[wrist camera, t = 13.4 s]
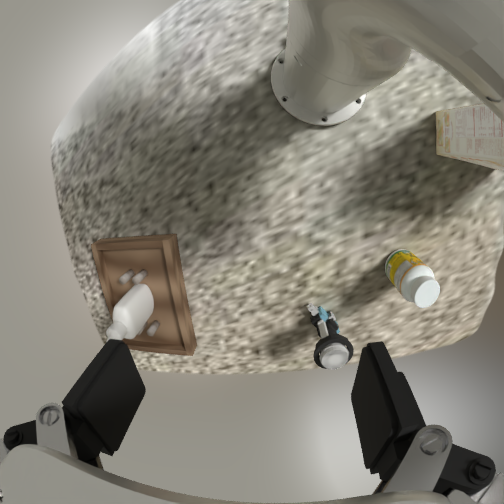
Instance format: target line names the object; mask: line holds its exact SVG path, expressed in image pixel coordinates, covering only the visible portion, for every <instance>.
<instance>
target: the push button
mask: <svg viewBox="0 0 504 504" xmlns="http://www.w3.org/2000/svg"><path fill="white" fill-rule="evenodd" d="M310 305H312V306H311V307H310ZM307 306H308V307H309V308H308V310H309V311H310V312H311V313H312V317H311V322H312V324H313V325H314V326H315V327H316V328H317V331H318V335H319V336H320V337H321V339H320V340H319V341H318V343H317V344H316V348H315V351H314V361H315V363H316V364H317V365H318V366H320V367H322V368H325V369H337V368H340V367H342V366H343V365H345V364H346V363H347V362H348V361H349V360H350V359H351V358H352V356H353V346H352V344H351V343H350V342H349V341H348V339H347V338H346V337H344V336H341V335H339V334H338V333H339V332H340V331H339V327H338V324H337V322H336V321H335V320H336V319H335V316H334V314H333V313H332V312H331V311H330V313H331V316H330V315H329V314H328V313H327V312H326V311H325V310H324V309H323V308H322V307H321V306H320V307H319V308H317V307H315V306H314V305H313V304H312V303H310V304H309V305H307ZM310 309H311V310H310ZM332 314H333V315H332ZM345 345H346V346H347V348H346V347H345ZM319 352H320V355H319Z"/></svg>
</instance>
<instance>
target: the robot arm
mask: <svg viewBox="0 0 504 504" xmlns="http://www.w3.org/2000/svg"><path fill="white" fill-rule="evenodd" d="M411 49H414V50H415V51H417V52H418V53H420V54H421V55H423V56H424V57H426V58H427V59H429V60H431V61H433V62H435V63H436V64H437V65H439V66H440V67H441V68H443V69H444V70H445V71H447V72H448V73H449V74H451V75H452V76H453V77H454V78H456V79H457V80H458V81H459V82H460V83H462V84H463V85H464V86H465V87H466V88H467V89H469V90H470V91H471V92H472V93H473V94H474V95H475V96H476V97H478V98H479V99H480V100H481V101H482V102H483V103H484V104H485V105H486V106H487V107H488V108H489V109H490V110H491V111H492V112H493V113H494V114H496V115H497V116H498V117H499V118H500V119H501V120H502V121H503V122H504V0H289V14H288V27H287V39H286V48H285V49H284V50H283V51H282V52H281V53H280V54H279V55H278V56H277V58H276V60H275V62H274V64H273V67H272V71H271V84H272V88H273V92H274V95H275V96H276V98H277V100H278V102H279V103H280V104H281V106H282V107H283V108H284V109H285V110H286V111H287V112H288V113H289V114H291V115H292V116H294V117H295V118H297V119H299V120H301V121H303V122H306V123H309V124H313V125H319V126H329V125H336V124H339V123H342V122H344V121H346V120H348V119H350V118H351V117H353V116H354V115H355V114H356V113H357V112H358V111H359V110H360V109H361V107H362V106H363V104H364V101H365V98H366V95H367V92H369V91H371V90H372V89H374V88H375V87H377V86H378V85H380V84H382V83H383V82H385V81H386V80H388V79H390V78H391V77H393V76H394V75H395V74H397V73H398V72H399V71H400V70H401V69H402V68H403V67H404V66H405V64H406V63H407V61H408V59H409V57H410V54H411ZM279 62H283V64H280V63H279ZM283 99H286V100H287V101H286V102H284V101H283ZM355 100H357V101H358V104H357V103H356V102H355ZM322 118H324V119H325V122H323V121H322V120H321V119H322ZM144 395H145V386H144V384H143V381H142V379H141V377H140V375H139V372H138V370H137V368H136V365H135V363H134V360H133V358H132V355H131V353H130V350H129V348H128V346H127V345H126V344H125V343H124V341H122V340H117V339H109V340H108V341H107V343H106V344H105V345H104V346H103V348H102V349H101V350H100V352H99V353H98V354H97V355H96V357H95V358H94V359H93V361H92V362H91V363H90V364H89V366H88V367H87V368H86V370H85V371H84V373H83V374H82V375H81V377H80V378H79V379H78V380H77V382H76V383H75V384H74V386H73V387H72V389H71V390H70V391H69V393H68V394H67V396H66V397H65V398H64V400H63V401H62V404H63V405H64V406H63V407H61V406H60V405H58V404H56V403H49V404H46V405H44V406H42V407H41V408H40V409H39V411H38V412H37V415H36V420H34V421H31V422H27V423H23V424H20V425H16V426H13V427H10V428H9V429H8V430H7V431H6V432H5V435H4V439H3V440H2V439H0V504H504V475H503V474H502V473H499V474H497V473H495V472H496V469H495V464H494V462H493V460H491V459H490V458H489V457H487V456H485V455H482V454H479V453H476V452H473V451H470V450H468V449H465V448H462V447H459V446H457V445H454V444H452V436H451V434H450V432H449V431H448V430H447V429H446V428H444V427H442V426H440V425H428V426H426V424H425V422H424V419H423V417H422V414H421V412H420V409H419V407H418V405H417V402H416V400H415V398H414V395H413V393H412V391H411V388H410V386H409V384H408V382H407V380H406V378H405V376H404V374H403V373H402V372H397V370H396V368H395V366H394V364H393V362H392V359H391V357H390V355H389V353H388V351H387V349H386V347H385V345H384V343H383V342H373V343H368V344H367V347H363V349H362V353H361V357H360V361H359V366H358V370H357V374H356V378H355V382H354V386H353V390H352V393H351V400H352V405H353V410H354V414H355V418H356V423H357V428H358V433H359V438H360V443H361V448H362V453H363V458H364V464H365V467H366V469H369V468H370V472H371V474H375V473H379V476H380V479H381V480H382V481H381V482H380V484H379V485H378V487H377V488H376V489H375V491H374V492H373V494H372V495H366V496H359V497H353V498H346V499H338V500H329V501H318V502H304V503H249V502H235V501H225V500H217V499H209V498H202V497H197V496H191V495H186V494H181V493H176V492H171V491H168V490H163V489H160V488H156V487H152V486H148V485H145V484H142V483H138V482H135V481H132V480H129V479H126V478H123V477H120V476H117V475H115V474H112V473H109V472H107V471H104V469H103V466H102V463H101V460H100V457H99V454H100V452H102V453H105V454H108V455H110V456H112V455H113V454H114V451H117V450H118V449H119V447H120V445H121V442H122V440H123V438H124V436H125V434H126V432H127V430H128V428H129V426H130V423H131V422H132V419H133V417H134V415H135V413H136V411H137V409H138V407H139V405H140V403H141V401H142V399H143V397H144Z"/></svg>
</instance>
